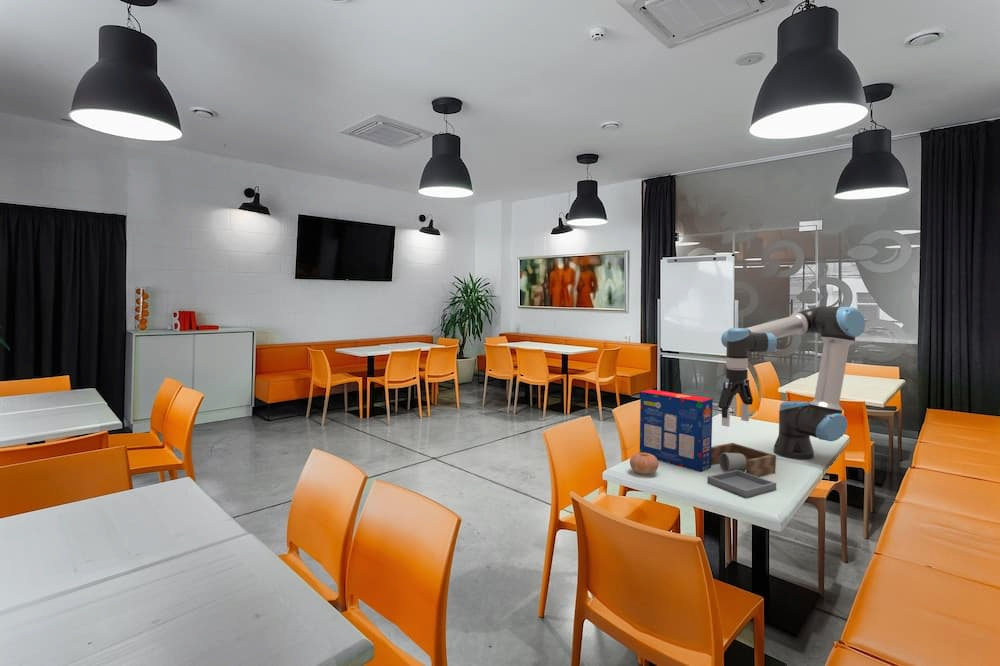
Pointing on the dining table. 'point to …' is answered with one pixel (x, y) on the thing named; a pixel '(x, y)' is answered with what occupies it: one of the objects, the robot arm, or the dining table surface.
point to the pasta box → (676, 428)
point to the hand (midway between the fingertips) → (735, 423)
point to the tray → (741, 483)
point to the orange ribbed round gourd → (644, 463)
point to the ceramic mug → (732, 462)
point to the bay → (756, 459)
